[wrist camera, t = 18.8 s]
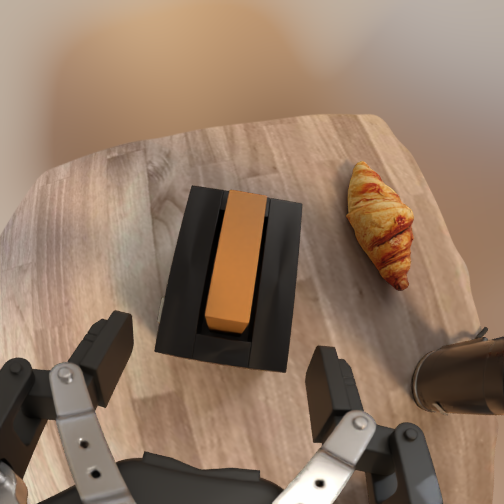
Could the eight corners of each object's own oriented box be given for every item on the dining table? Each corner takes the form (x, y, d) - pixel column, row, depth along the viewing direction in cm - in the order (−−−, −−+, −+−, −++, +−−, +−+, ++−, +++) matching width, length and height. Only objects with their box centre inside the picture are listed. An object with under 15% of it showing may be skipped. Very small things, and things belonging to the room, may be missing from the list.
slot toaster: (280, 248, 41) (302, 203, 30) (265, 371, 35) (286, 372, 24) (192, 234, 41) (183, 184, 29) (168, 355, 35) (144, 349, 24)
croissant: (333, 181, 50) (324, 155, 43) (387, 164, 47) (386, 136, 40) (370, 303, 43) (370, 295, 36) (432, 283, 40) (443, 271, 33)
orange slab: (253, 244, 33) (267, 195, 24) (239, 337, 30) (248, 323, 20) (226, 239, 33) (229, 189, 24) (209, 332, 30) (204, 316, 20)
